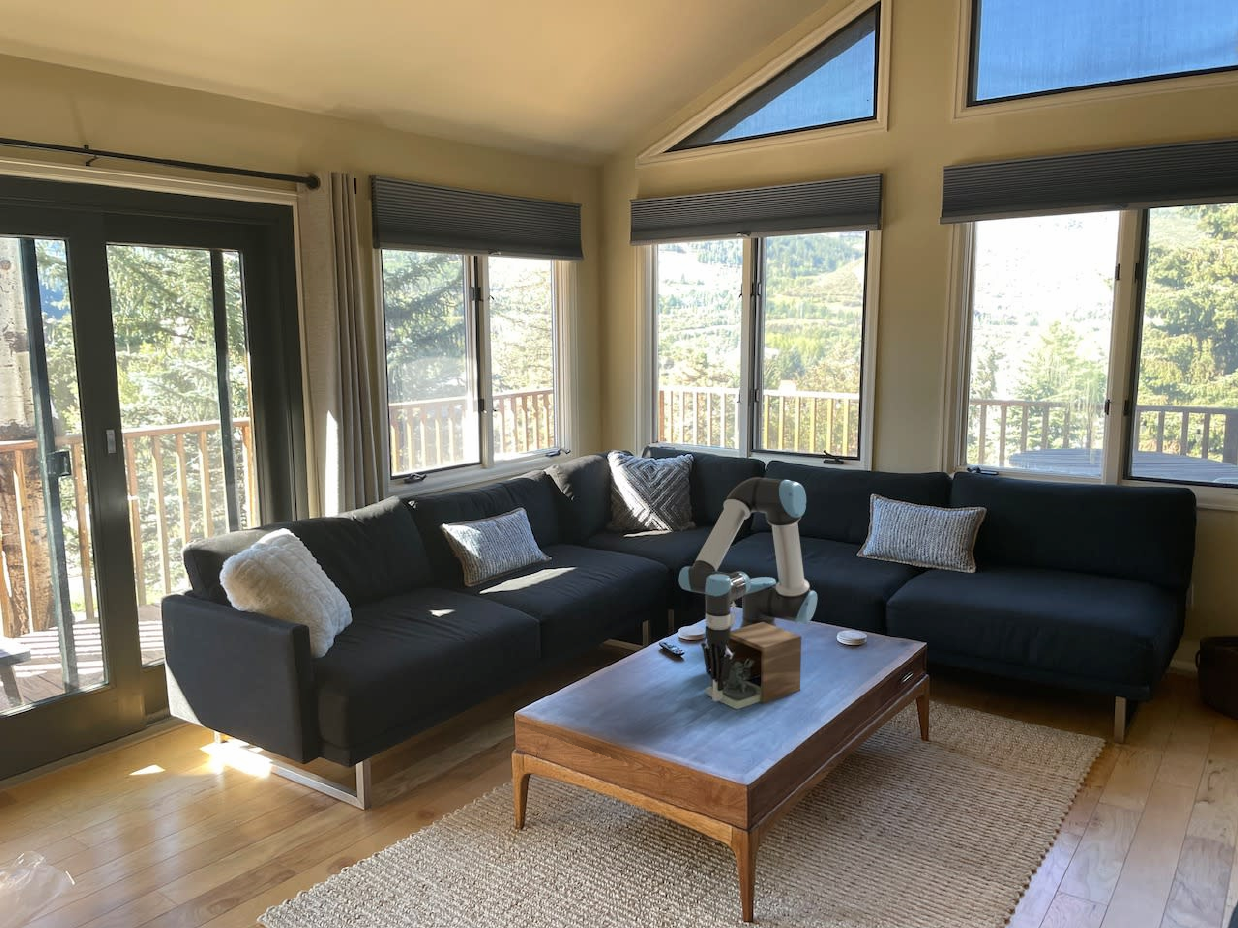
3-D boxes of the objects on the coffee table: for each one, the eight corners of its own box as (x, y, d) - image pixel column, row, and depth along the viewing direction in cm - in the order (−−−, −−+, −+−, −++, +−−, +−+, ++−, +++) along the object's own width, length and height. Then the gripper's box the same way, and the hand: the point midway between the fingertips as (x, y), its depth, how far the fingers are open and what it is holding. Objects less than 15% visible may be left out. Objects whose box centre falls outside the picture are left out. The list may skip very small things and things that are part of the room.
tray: (706, 694, 300) (706, 687, 300) (739, 683, 308) (739, 677, 308) (736, 709, 289) (736, 702, 289) (770, 697, 297) (770, 691, 297)
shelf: (725, 685, 307) (726, 631, 304) (762, 673, 316) (762, 621, 313) (763, 703, 293) (764, 647, 290) (799, 690, 303) (801, 636, 300)
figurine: (752, 702, 292) (752, 664, 290) (717, 697, 295) (718, 660, 293) (758, 688, 302) (759, 652, 300) (725, 684, 305) (725, 648, 303)
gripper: (694, 622, 293) (694, 695, 297) (723, 634, 282) (722, 709, 286) (713, 617, 297) (712, 689, 301) (741, 629, 287) (741, 703, 291)
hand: (717, 699), depth 294 cm, fingers closed
